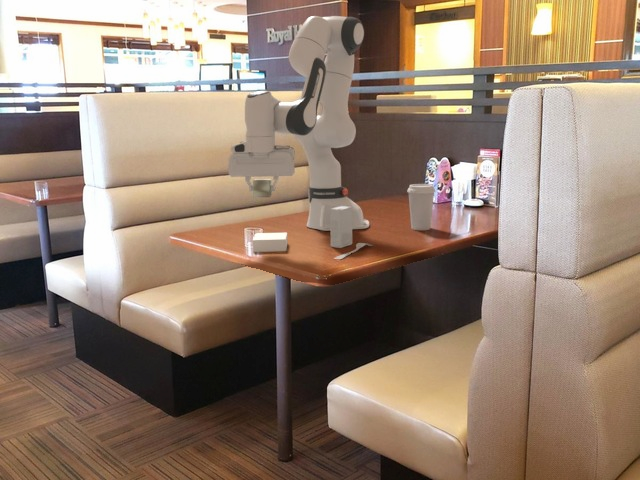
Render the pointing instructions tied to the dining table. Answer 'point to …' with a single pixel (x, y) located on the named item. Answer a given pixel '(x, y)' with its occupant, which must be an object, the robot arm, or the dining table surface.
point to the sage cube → (261, 188)
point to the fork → (352, 251)
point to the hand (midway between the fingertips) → (262, 191)
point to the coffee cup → (421, 205)
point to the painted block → (269, 242)
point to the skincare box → (341, 226)
